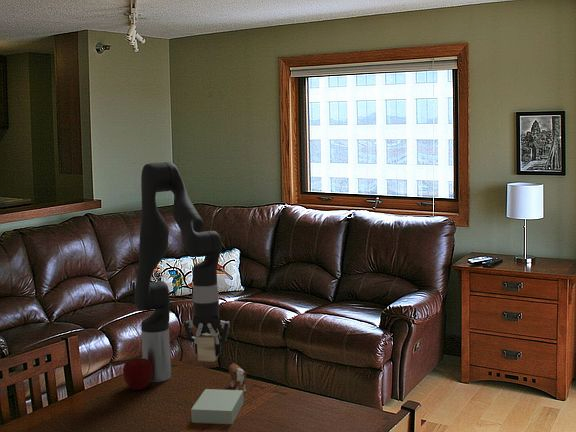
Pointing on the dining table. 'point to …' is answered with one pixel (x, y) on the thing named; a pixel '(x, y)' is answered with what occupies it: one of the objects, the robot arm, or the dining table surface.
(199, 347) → the maple block
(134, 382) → the apple
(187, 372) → the dining table surface
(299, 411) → the dining table surface
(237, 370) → the bull figurine
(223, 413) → the plinth
